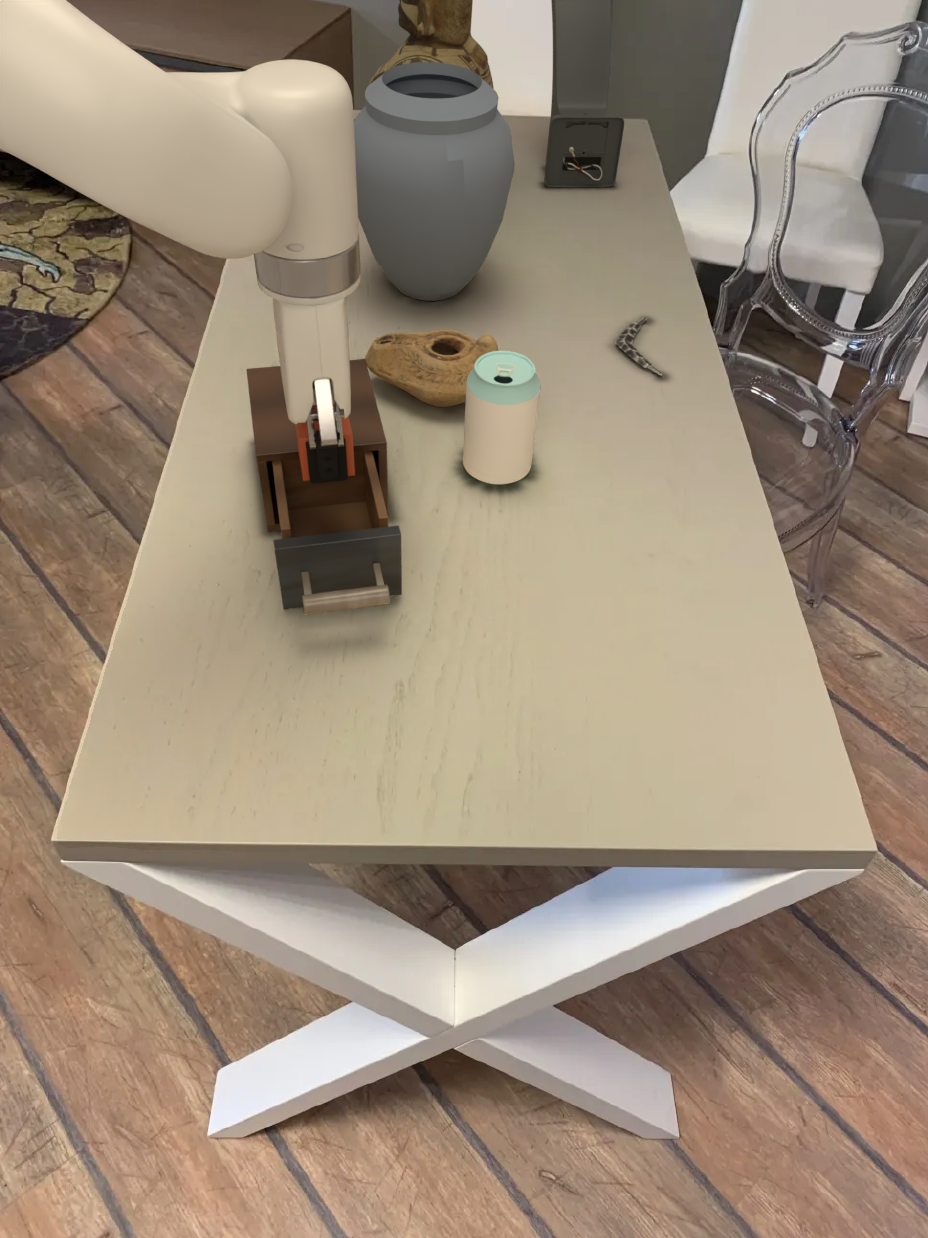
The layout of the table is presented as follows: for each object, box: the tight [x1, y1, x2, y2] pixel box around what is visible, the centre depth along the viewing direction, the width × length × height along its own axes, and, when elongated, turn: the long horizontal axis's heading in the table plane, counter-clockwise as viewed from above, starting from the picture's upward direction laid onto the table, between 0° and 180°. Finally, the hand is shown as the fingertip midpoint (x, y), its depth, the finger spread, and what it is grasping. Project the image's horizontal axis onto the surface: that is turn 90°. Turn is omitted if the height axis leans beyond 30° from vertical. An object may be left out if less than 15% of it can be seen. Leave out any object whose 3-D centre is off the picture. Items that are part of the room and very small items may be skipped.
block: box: [295, 404, 355, 481], centre depth 80 cm, size 4×4×4 cm
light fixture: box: [543, 0, 625, 188], centre depth 139 cm, size 11×17×24 cm, turn 6°
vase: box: [354, 62, 515, 302], centre depth 112 cm, size 20×20×24 cm
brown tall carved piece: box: [368, 0, 495, 90], centre depth 131 cm, size 19×21×30 cm
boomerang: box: [614, 316, 664, 377], centre depth 113 cm, size 13×1×5 cm
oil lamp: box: [364, 329, 499, 408], centre depth 103 cm, size 11×15×8 cm
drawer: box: [272, 451, 403, 615], centre depth 82 cm, size 17×10×7 cm, turn 12°
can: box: [462, 350, 542, 485], centre depth 93 cm, size 7×7×12 cm
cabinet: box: [246, 358, 390, 532], centre depth 91 cm, size 14×12×9 cm
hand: (325, 459), depth 81 cm, fingers closed on block, 4 cm apart
